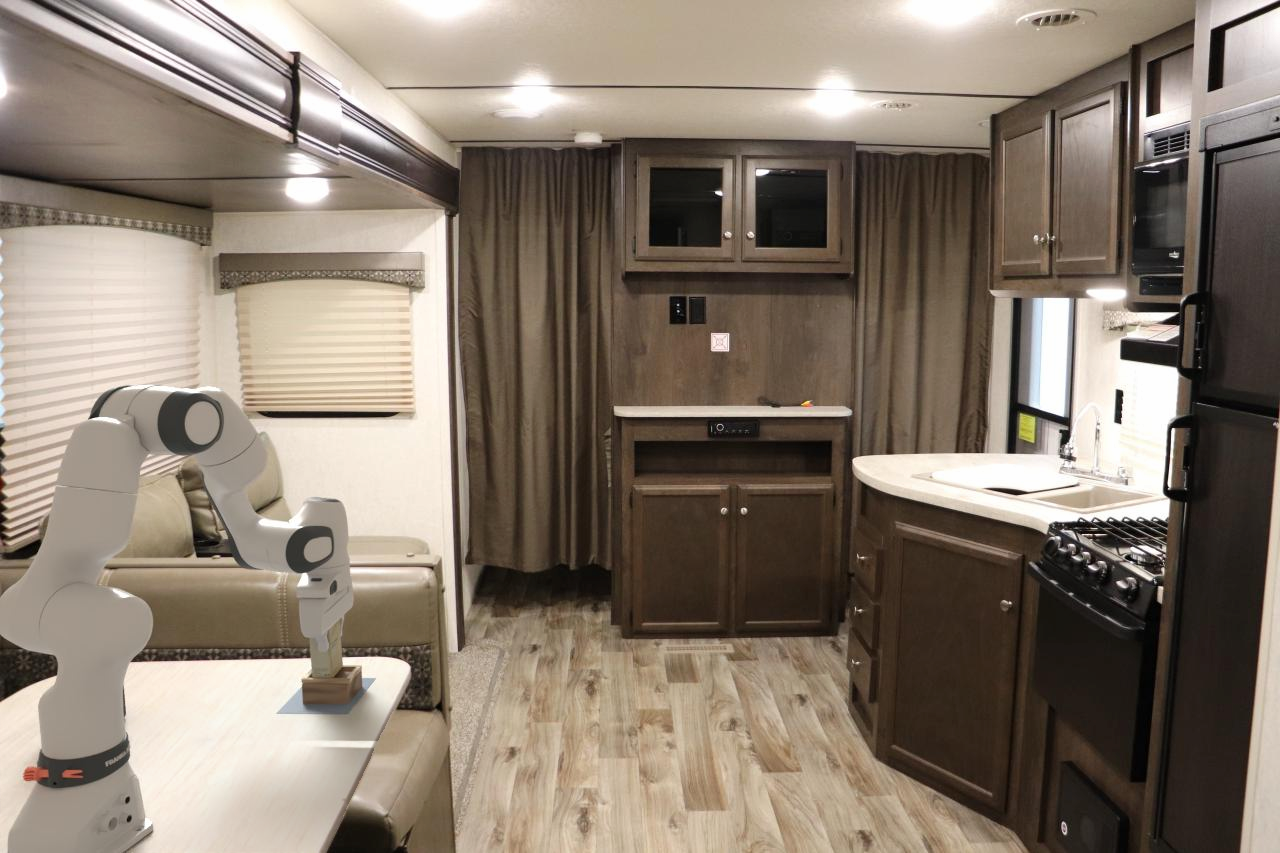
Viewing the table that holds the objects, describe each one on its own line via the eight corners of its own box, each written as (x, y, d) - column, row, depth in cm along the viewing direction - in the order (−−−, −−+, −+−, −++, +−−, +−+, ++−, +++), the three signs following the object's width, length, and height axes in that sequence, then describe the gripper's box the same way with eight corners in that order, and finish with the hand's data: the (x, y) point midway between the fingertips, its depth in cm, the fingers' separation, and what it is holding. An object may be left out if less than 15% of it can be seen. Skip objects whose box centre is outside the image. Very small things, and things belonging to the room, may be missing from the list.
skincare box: (333, 679, 198) (329, 620, 196) (311, 678, 199) (306, 620, 196) (343, 665, 205) (339, 609, 202) (322, 665, 205) (318, 609, 202)
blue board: (348, 718, 193) (347, 714, 193) (276, 718, 193) (276, 713, 193) (376, 682, 211) (376, 678, 210) (310, 681, 211) (310, 677, 211)
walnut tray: (349, 704, 197) (348, 681, 196) (301, 703, 198) (300, 680, 197) (363, 686, 206) (362, 664, 205) (317, 685, 206) (316, 663, 206)
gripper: (329, 562, 209) (333, 626, 211) (291, 592, 189) (295, 662, 190) (359, 562, 209) (362, 626, 210) (324, 592, 188) (328, 662, 190)
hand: (330, 644), depth 200 cm, fingers closed on skincare box, 6 cm apart
